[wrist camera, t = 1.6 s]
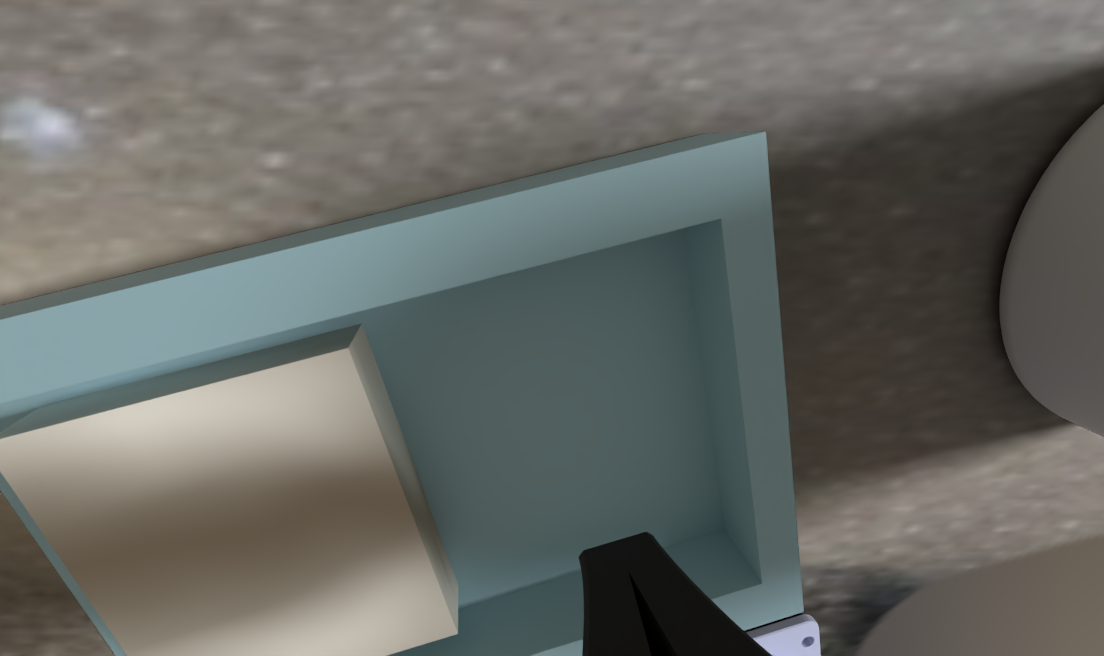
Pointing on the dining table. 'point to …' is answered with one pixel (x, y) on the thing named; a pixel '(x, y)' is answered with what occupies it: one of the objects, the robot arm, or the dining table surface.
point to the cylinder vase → (1061, 283)
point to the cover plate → (242, 507)
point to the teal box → (510, 373)
